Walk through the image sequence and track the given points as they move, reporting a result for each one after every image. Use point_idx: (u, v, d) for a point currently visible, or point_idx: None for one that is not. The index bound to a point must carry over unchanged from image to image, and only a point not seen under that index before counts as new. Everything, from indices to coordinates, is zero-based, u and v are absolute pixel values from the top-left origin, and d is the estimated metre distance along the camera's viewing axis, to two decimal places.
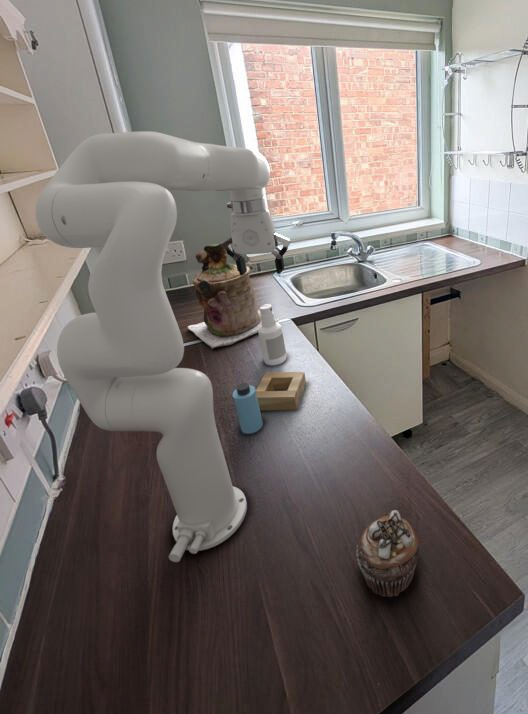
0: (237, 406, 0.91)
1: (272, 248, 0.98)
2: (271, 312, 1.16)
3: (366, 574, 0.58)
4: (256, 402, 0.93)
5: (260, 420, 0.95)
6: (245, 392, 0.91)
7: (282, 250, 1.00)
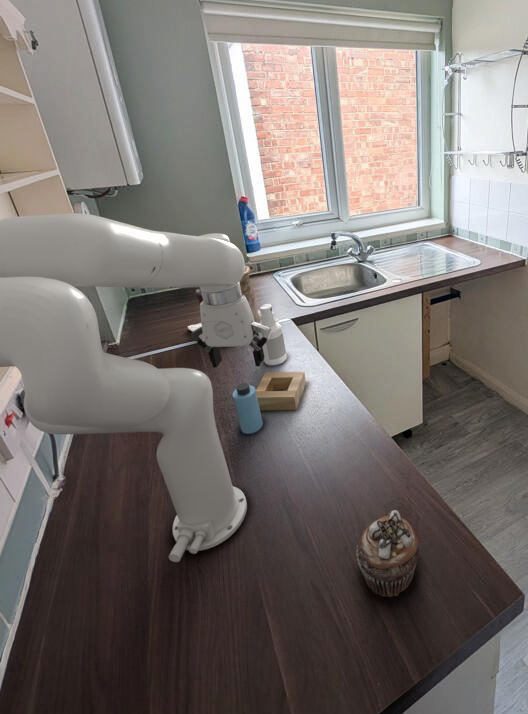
0: (237, 406, 0.91)
1: (249, 341, 0.84)
2: (271, 312, 1.16)
3: (366, 574, 0.58)
4: (256, 402, 0.93)
5: (260, 420, 0.95)
6: (245, 392, 0.91)
7: (261, 341, 0.86)
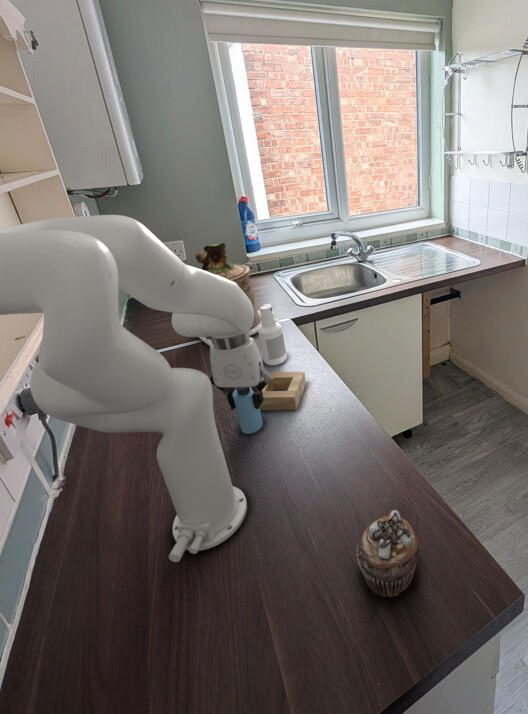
0: (237, 406, 0.91)
1: (257, 382, 0.88)
2: (271, 312, 1.16)
3: (366, 574, 0.58)
4: None
5: (260, 420, 0.95)
6: (245, 392, 0.91)
7: (260, 386, 0.90)
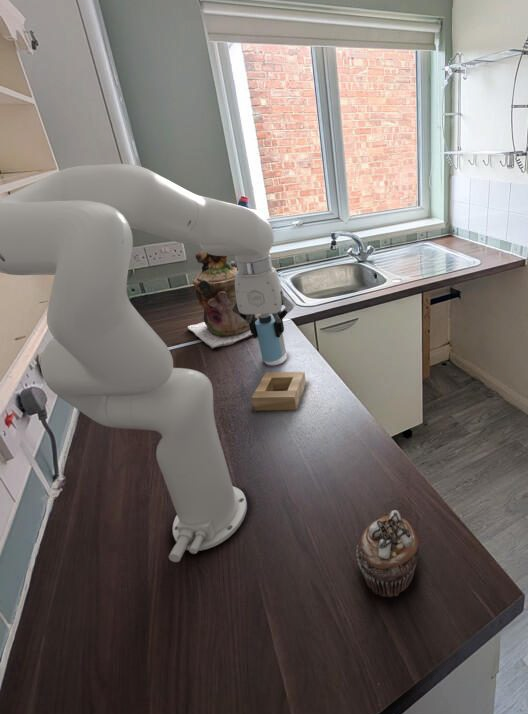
0: (259, 334, 0.96)
1: (279, 308, 0.93)
2: None
3: (366, 574, 0.58)
4: None
5: (280, 350, 1.00)
6: (267, 320, 0.96)
7: (282, 314, 0.95)
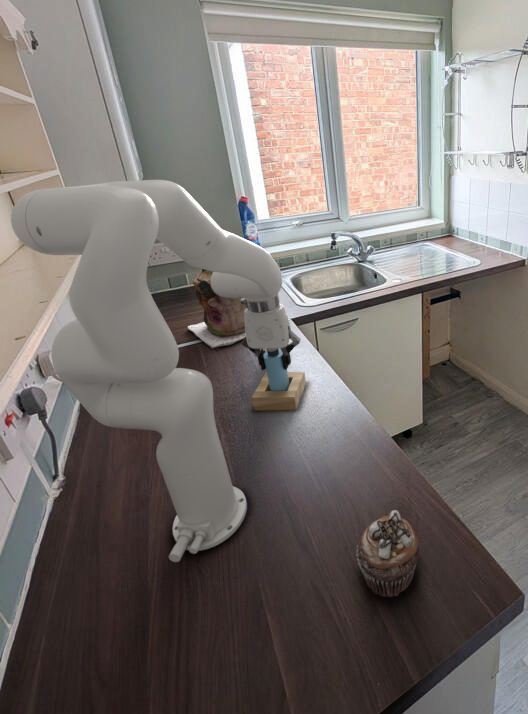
0: (267, 366, 1.00)
1: (286, 343, 0.97)
2: None
3: (366, 574, 0.58)
4: None
5: (287, 380, 1.04)
6: (275, 353, 1.00)
7: (289, 347, 0.99)
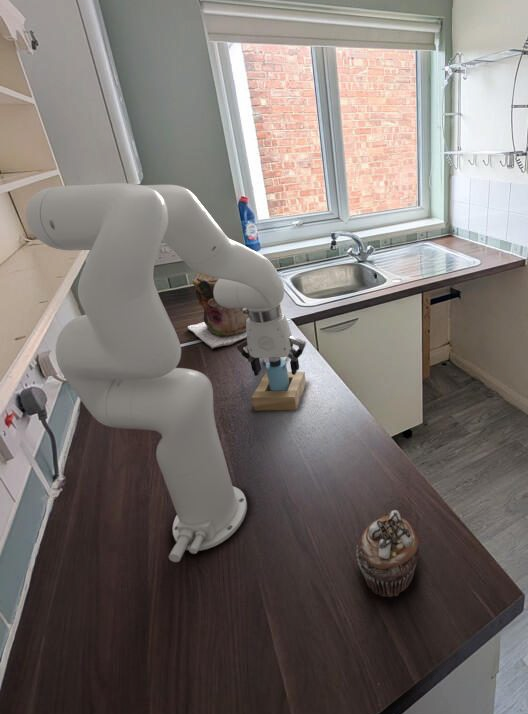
0: (270, 376, 1.01)
1: (288, 353, 0.97)
2: None
3: (366, 574, 0.58)
4: (286, 373, 1.03)
5: None
6: (277, 364, 1.01)
7: (297, 353, 0.99)
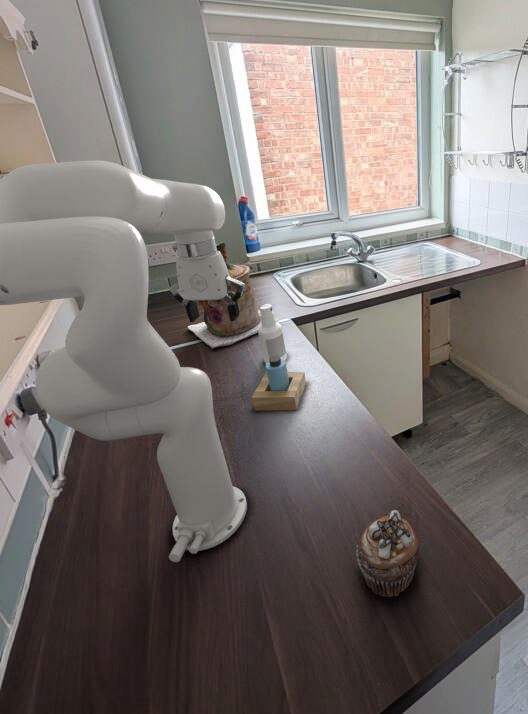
0: (270, 376, 1.01)
1: (223, 294, 0.87)
2: (271, 312, 1.16)
3: (366, 574, 0.58)
4: (286, 373, 1.03)
5: None
6: (277, 364, 1.01)
7: (235, 296, 0.89)
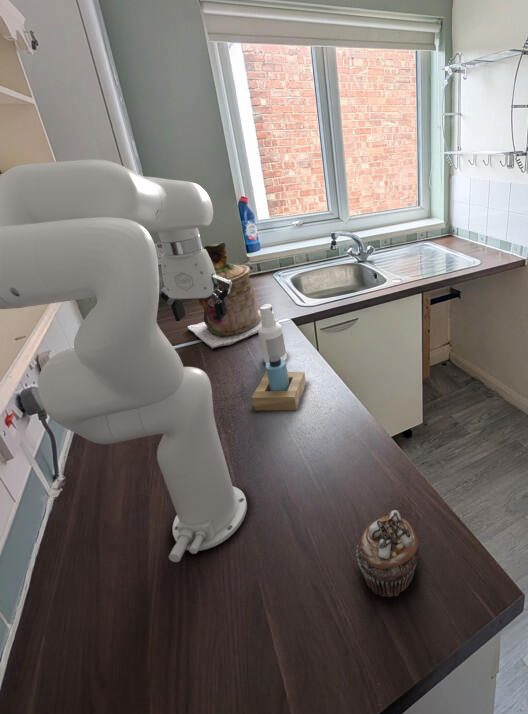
0: (270, 376, 1.01)
1: (209, 292, 0.87)
2: (271, 312, 1.16)
3: (366, 574, 0.58)
4: (286, 373, 1.03)
5: None
6: (277, 364, 1.01)
7: (222, 294, 0.88)
